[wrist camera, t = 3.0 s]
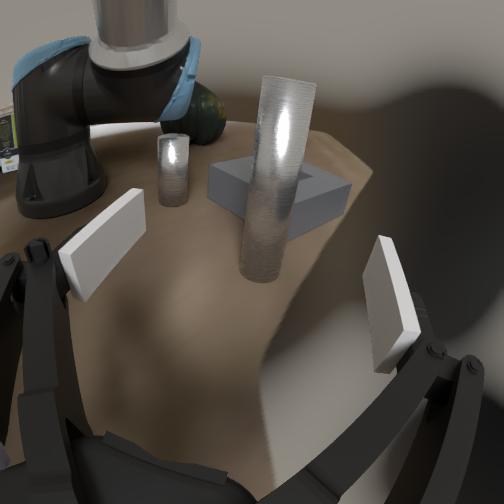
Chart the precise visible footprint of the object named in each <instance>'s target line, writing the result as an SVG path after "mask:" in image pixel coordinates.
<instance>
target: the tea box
mask: <svg viewBox="0 0 504 504" xmlns="http://www.w3.org/2000/svg"><path fill="white" fill-rule="evenodd" d="M0 160H1V166H2V171H3V173H6V172H10V171H15V170H18V163H19V154H18V146H17V140H16V131H15V121H14V109H13V103H11V104H9V105H6V106H4V107H2V108H0Z"/></svg>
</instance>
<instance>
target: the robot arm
mask: <svg viewBox="0 0 504 504" xmlns="http://www.w3.org/2000/svg"><path fill="white" fill-rule="evenodd" d="M92 2H93V9H94V14H95V20H96V25H97V30H98V33H97V34H96V35H95V36H94V37H93V39H92V40H91V39H90V38H89V37H87V36H78V37H71V38H67V39H64V40H58V41H55V42H51V43H49V44H46V45H43V46H40V47H38V48H36V49H34V50H32V51H30V52H28V53H26V54H25V55H23V56H22V57H21V58H20V59H19V60H18V61H17V63H16V64H15V66H14V71H13V86H12V93H13V109H14V121H15V131H16V140H17V146H18V154H19V163H18V172H17V183H16V201H17V205H18V209H19V212H20V213H21V214H22V215H24V216H26V217H30V218H49V217H55V216H59V215H63V214H66V213H69V212H72V211H75V210H77V209H80V208H82V207H84V206H86V205H88V204H89V203H91V202H93V201H94V200H96V199H97V198H98V197H99V196H100V195H101V194H102V193H103V191H104V190H105V176H104V171H103V169H102V166H101V164H100V162H99V159H98V157H97V155H96V152H95V150H94V147H93V145H92V143H91V139H90V125H96V124H110V123H131V122H154V123H157V122H160V121H166V120H177V119H180V118H182V117H183V116H184V115H185V114H186V112H187V110H188V108H189V105H190V101H191V97H192V93H193V88H194V82H195V80H194V78H195V77H196V72H197V68H198V62H199V55H200V46H201V44H200V40H199V39H197V38H194V37H192V36H189V29H188V26H187V24H186V23H185V22H184V21H183V20H182V19H180V18H178V17H177V0H92ZM145 231H146V223H145V209H144V193H143V190H142V189H136V188H132V189H130V190H129V191H128V192H126V193H125V194H124V195H123V196H121V197H120V198H119V199H118V200H116V201H115V202H114V203H113V204H111V205H110V206H109V207H108V208H106V209H105V210H104V211H103V212H102V213H100V214H99V215H98V216H97V217H96V218H95V219H93V220H92V221H91V222H90V223H89V224H88V225H87V224H86V225H84V226H82V227H80V228H78V229H76V230H75V231H74V232H73V233H72V234H71V235H70V236H69V237H67V238H66V240H64V241H63V242H62V243H61V244H60V245H59V246H58V247H56V248H55V249H54V250H53V251H51V248H50V244H49V241H48V239H47V238H43V237H41V238H36V239H33V240H31V241H30V242H28V243H27V244H26V245H25V248H24V250H25V253H26V256H27V259H28V261H21V259H20V256H19V254H18V253H15V252H13V253H8V254H6V255H5V256H4V257H2V258H1V259H0V504H337V503H338V502H339V500H340V497H341V496H342V494H344V492H346V491H347V490H348V489H349V488H350V487H351V486H352V485H353V483H355V482H356V481H357V480H358V478H359V477H360V476H361V475H362V474H363V473H364V472H365V471H366V470H367V469H368V468H369V467H370V466H371V465H372V463H373V462H374V461H375V460H376V459H377V458H378V457H379V455H380V454H381V453H382V452H383V450H385V448H386V447H387V446H388V445H389V444H390V442H391V441H392V440H393V439H394V437H395V436H396V434H398V432H399V431H400V430H401V428H402V427H403V426H404V424H405V423H406V422H407V420H408V419H409V418H410V416H411V415H412V413H413V412H414V411H415V409H416V408H417V406H418V405H419V403H420V402H421V400H422V399H423V397H424V398H426V399H428V402H427V405H426V408H425V411H424V414H423V417H422V420H421V423H420V425H419V428H418V431H417V434H416V436H415V439H414V441H413V444H412V446H411V449H410V451H409V453H408V456H407V458H406V460H405V463H404V465H403V467H402V469H401V471H400V473H399V476H398V478H397V480H396V482H395V484H394V486H393V488H392V490H391V492H390V494H389V496H388V497H387V499H386V501H385V503H384V504H455V501H456V498H457V496H458V493H459V490H460V487H461V484H462V481H463V478H464V475H465V471H466V468H467V465H468V461H469V457H470V454H471V450H472V445H473V441H474V436H475V432H476V427H477V422H478V416H479V411H480V405H481V398H482V390H483V382H484V367H483V365H482V363H481V362H480V360H479V359H478V358H476V357H475V356H473V355H466V356H465V357H463V358H462V360H461V361H459V360H457V359H455V358H452V357H450V356H448V355H447V350H446V349H445V347H444V345H443V344H442V343H441V342H439V341H438V340H436V339H435V338H434V334H433V331H432V327H431V324H430V320H429V317H428V314H427V311H426V308H425V304H424V301H423V300H422V299H421V297H420V296H419V295H418V293H416V292H411V291H409V288H408V285H407V283H406V279H405V276H404V273H403V270H402V267H401V264H400V261H399V258H398V256H397V253H396V250H395V247H394V244H393V242H392V239H391V238H388V237H384V236H380V235H379V236H378V238H377V240H376V243H375V245H374V248H373V251H372V253H371V256H370V258H369V261H368V263H367V266H366V268H365V271H364V273H363V282H364V288H365V295H366V302H367V308H368V317H369V325H370V333H371V343H372V353H373V364H374V372H376V373H385V374H390V373H391V372H392V370H393V369H394V368H395V367H396V368H397V375H396V376H395V377H394V378H393V380H392V381H391V382H390V383H389V384H388V385H387V387H386V388H385V389H384V390H383V391H382V393H381V394H380V395H379V396H378V397H377V398H376V399H375V400H374V401H373V403H372V404H371V405H370V406H369V407H368V408H367V409H366V410H365V411H364V412H363V413H362V414H361V415H360V416H359V418H357V419H356V420H355V421H354V423H352V424H351V425H350V426H349V427H348V428H347V429H346V430H345V431H344V432H343V433H342V434H341V435H340V436H339V437H338V438H337V439H336V440H335V441H334V442H333V443H332V444H330V445H329V446H328V447H327V448H326V449H325V450H324V451H323V452H322V453H320V454H319V455H318V456H317V457H316V458H315V459H313V460H312V461H311V462H310V463H309V464H307V465H306V466H305V467H304V468H303V469H301V470H300V471H299V472H298V473H296V474H295V475H294V476H293V477H291V478H290V479H289V480H287V481H286V482H285V483H283V484H282V485H281V486H279V487H278V488H277V489H275V490H274V491H272V492H271V493H270V494H268V495H267V496H265V497H264V498H262V499H261V500H259V501H258V502H257V501H256V499H255V498H254V497H253V495H252V494H251V493H250V492H249V491H248V490H247V489H246V488H244V487H243V486H242V485H241V484H239V483H237V482H236V481H234V480H232V479H230V478H228V477H227V473H228V472H225V471H221V470H216V469H212V468H209V467H205V466H201V465H197V464H187V463H175V462H164V461H160V460H158V459H157V458H155V457H154V456H152V455H151V454H149V453H148V452H146V451H145V450H143V449H142V448H140V447H139V446H138V445H136V444H135V443H133V442H131V441H128V440H126V439H124V438H121V437H119V436H117V435H115V434H112V433H110V432H108V431H106V433H105V436H97V435H95V436H94V435H93V432H92V430H91V428H90V426H89V424H88V422H87V419H86V416H85V412H84V408H83V403H82V399H81V394H80V389H79V384H78V379H77V373H76V367H75V361H74V354H73V347H72V339H71V331H70V321H69V309H68V299H67V296H66V293H67V292H68V291H69V290H71V293H72V296H73V298H74V299H76V300H79V301H81V302H84V303H85V302H86V301H87V300H88V299H89V297H90V296H91V295H92V294H93V292H94V291H95V290H96V289H97V287H98V286H99V285H100V284H101V282H102V281H103V280H104V279H105V278H106V276H107V275H108V274H109V273H110V272H111V270H112V269H113V268H114V267H115V266H116V264H117V263H118V262H119V261H120V260H121V259H122V257H123V256H124V255H125V254H126V253H127V252H128V251H129V249H130V248H131V247H132V246H133V245H134V244H135V243H136V241H137V240H138V239H139V238H140V237H141V236H142V235H143V234H144V233H145ZM11 296H12V298H11ZM22 345H23V382H24V393H23V394H19V396H18V401H17V404H18V415H19V424H20V431H21V438H22V444H23V450H24V456H25V461H24V462H21V463H19V464H16V465H14V466H11V467H8V468H6V469H5V467H7V466H8V465H9V463H10V458H9V456H8V455H7V454H6V453H5V449H4V446H5V442H6V437H7V433H8V426H9V418H10V410H11V402H12V395H13V389H14V383H15V378H16V372H17V367H18V363H19V358H20V354H21V349H22ZM226 477H227V478H226Z"/></svg>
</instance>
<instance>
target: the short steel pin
mask: <svg viewBox="0 0 504 504" xmlns="http://www.w3.org/2000/svg"><path fill="white" fill-rule="evenodd" d="M188 155H189V136H188V135H185V134H178V133H171V134H164V135H160V136H159V137H158V197H159V203H160V204H161V205H163V206H166V207H178V206H181V205H184V204H185V203H186V202H187V189H188Z"/></svg>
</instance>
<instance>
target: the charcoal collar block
mask: <svg viewBox="0 0 504 504" xmlns="http://www.w3.org/2000/svg"><path fill="white" fill-rule="evenodd" d="M252 159H253V156H249V157H243V158H238V159H233V160H228V161H223V162H218V163H213V164H210V165H209V181H208V198H209V199H211V200H213V201H214V202H216V203H217V204H219V205H221V206H222V207H224V208H226V209H227V210H229V211H230V212H232V213H234V214H235V215H237V216H238V217H240V218H242V219H243V220H245V216H246V208H247V199H248V191H249V183H250V175H251V167H252ZM351 186H352V183H351V182H349V181H346V180H344V179H342V178H340V177H338V176H336V175H333V174H331V173H329V172H327V171H324V170H322V169H320V168H317V167H315V166H313V165H310V164H308V163H306V162H302V167H301V172H300V177H299V182H298V187H297V192H296V197H295V202H294V207H293V212H292V217H291V222H290V227H289V231H288V236H287V241H286V242H288V241H290V240H292V239H294V238H296V237H298V236H300V235H302V234H304V233H306V232H308V231H310V230H312V229H314V228H316V227H318V226H320V225H322V224H324V223H326V222H328V221H330V220H332V219H334V218H336V217H338V216H340V215H342V214H344V210H345V207H346V204H347V200H348V196H349V193H350V189H351Z"/></svg>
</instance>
